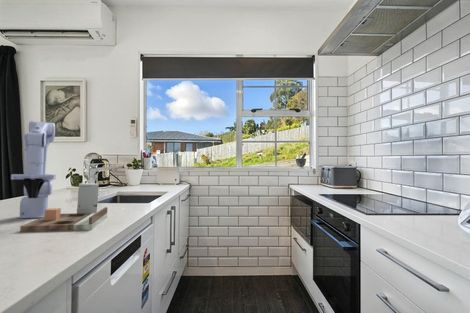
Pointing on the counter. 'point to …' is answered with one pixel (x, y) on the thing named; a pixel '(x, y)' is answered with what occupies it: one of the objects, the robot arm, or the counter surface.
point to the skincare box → (87, 198)
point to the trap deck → (67, 222)
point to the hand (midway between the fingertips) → (33, 198)
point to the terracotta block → (52, 214)
